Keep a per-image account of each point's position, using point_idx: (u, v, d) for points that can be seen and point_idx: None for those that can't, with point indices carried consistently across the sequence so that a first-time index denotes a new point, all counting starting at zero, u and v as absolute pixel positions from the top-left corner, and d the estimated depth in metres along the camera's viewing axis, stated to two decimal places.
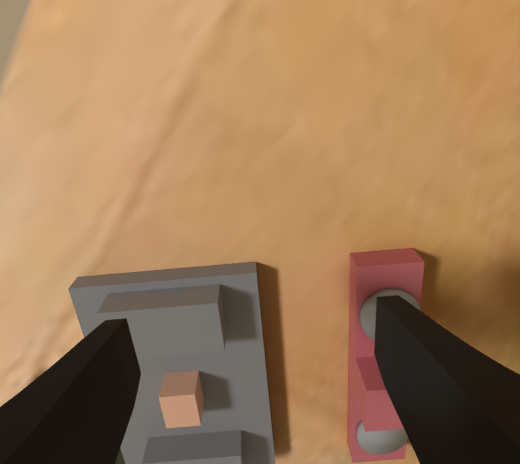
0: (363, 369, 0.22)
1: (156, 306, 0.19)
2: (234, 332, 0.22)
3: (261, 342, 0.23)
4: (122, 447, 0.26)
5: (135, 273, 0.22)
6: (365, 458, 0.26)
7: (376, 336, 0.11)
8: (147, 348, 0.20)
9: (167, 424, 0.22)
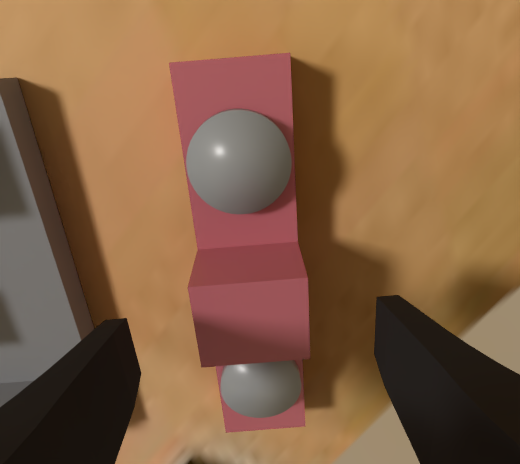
0: (201, 261, 0.13)
1: None
2: None
3: (38, 221, 0.13)
4: None
5: None
6: (244, 425, 0.17)
7: (376, 336, 0.11)
8: None
9: None
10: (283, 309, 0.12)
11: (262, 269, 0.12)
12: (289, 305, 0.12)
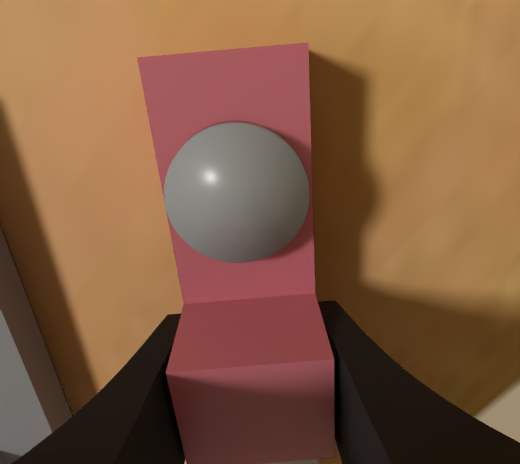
0: (187, 325, 0.10)
1: None
2: None
3: None
4: None
5: None
6: None
7: None
8: None
9: None
10: (299, 398, 0.09)
11: (270, 341, 0.09)
12: (307, 393, 0.08)
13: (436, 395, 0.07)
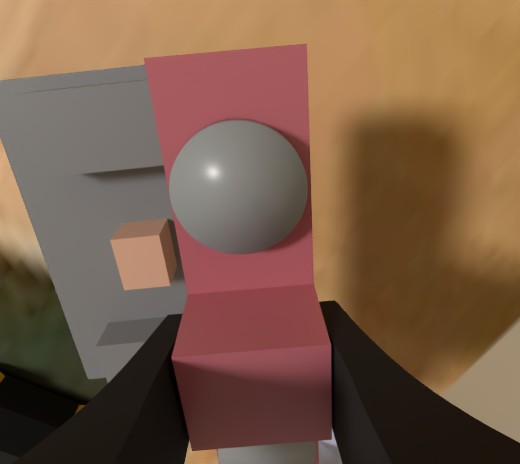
0: (191, 314, 0.10)
1: (96, 85, 0.14)
2: None
3: None
4: (75, 337, 0.20)
5: None
6: None
7: None
8: (88, 157, 0.14)
9: (125, 283, 0.17)
10: (298, 382, 0.09)
11: (270, 329, 0.09)
12: (305, 378, 0.09)
13: (436, 395, 0.07)
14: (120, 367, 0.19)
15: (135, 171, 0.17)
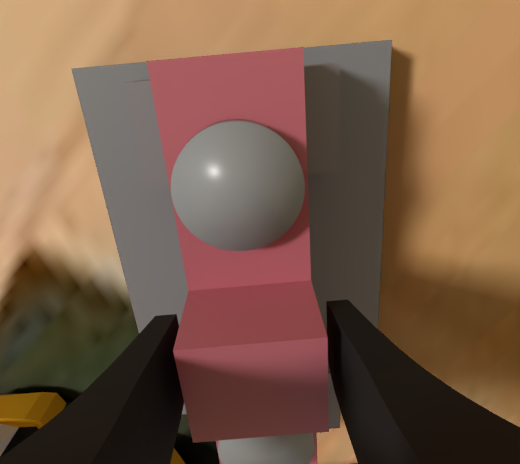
0: (191, 309, 0.10)
1: None
2: (341, 163, 0.14)
3: (381, 182, 0.14)
4: None
5: None
6: None
7: None
8: None
9: None
10: (296, 375, 0.09)
11: (269, 322, 0.09)
12: (303, 370, 0.09)
13: (457, 393, 0.07)
14: None
15: None
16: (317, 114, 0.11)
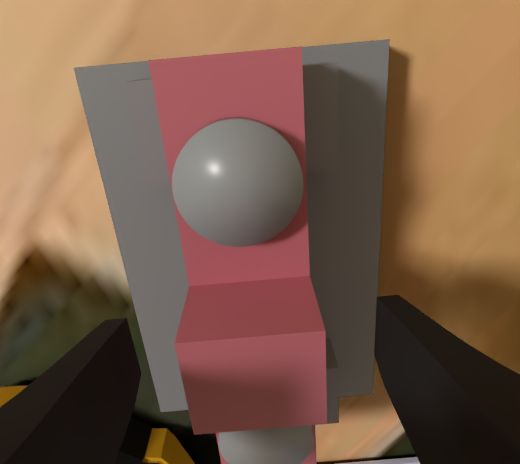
0: (192, 304, 0.10)
1: None
2: (339, 161, 0.14)
3: (379, 180, 0.14)
4: (152, 365, 0.17)
5: None
6: None
7: (376, 336, 0.11)
8: None
9: None
10: (294, 367, 0.09)
11: (268, 317, 0.10)
12: (302, 363, 0.09)
13: None
14: None
15: None
16: (316, 112, 0.11)
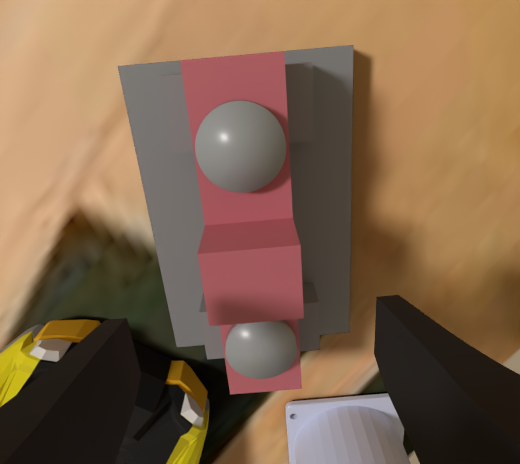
0: (208, 234, 0.15)
1: None
2: (318, 137, 0.18)
3: (349, 153, 0.18)
4: (170, 306, 0.21)
5: None
6: (247, 388, 0.19)
7: (376, 336, 0.11)
8: None
9: None
10: (280, 273, 0.14)
11: (261, 239, 0.14)
12: (285, 270, 0.14)
13: None
14: (218, 332, 0.20)
15: None
16: (297, 99, 0.16)
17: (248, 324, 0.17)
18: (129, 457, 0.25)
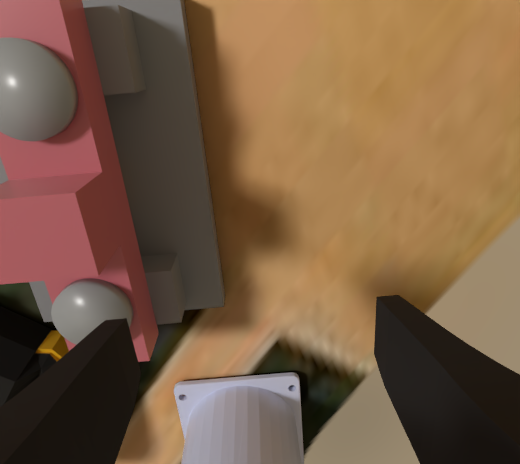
0: None
1: None
2: (157, 94, 0.17)
3: (193, 111, 0.17)
4: None
5: None
6: None
7: (376, 336, 0.11)
8: None
9: None
10: (60, 225, 0.13)
11: (44, 189, 0.13)
12: (64, 221, 0.13)
13: None
14: None
15: None
16: (108, 45, 0.15)
17: (70, 288, 0.16)
18: None
